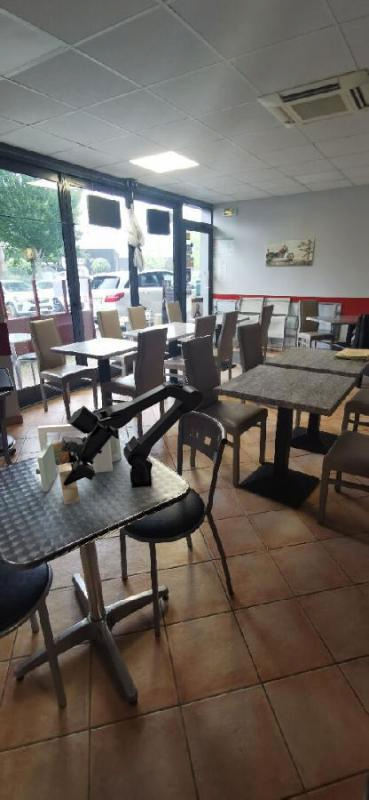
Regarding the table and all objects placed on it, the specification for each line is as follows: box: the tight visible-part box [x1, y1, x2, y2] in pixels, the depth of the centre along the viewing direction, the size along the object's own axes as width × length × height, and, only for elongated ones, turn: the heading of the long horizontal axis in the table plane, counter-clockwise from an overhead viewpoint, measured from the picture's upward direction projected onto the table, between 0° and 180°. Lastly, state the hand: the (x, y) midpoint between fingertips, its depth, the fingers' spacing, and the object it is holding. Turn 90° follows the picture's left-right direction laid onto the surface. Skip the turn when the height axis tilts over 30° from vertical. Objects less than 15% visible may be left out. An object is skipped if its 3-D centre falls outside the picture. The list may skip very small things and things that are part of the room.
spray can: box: [97, 405, 122, 463], centre depth 146 cm, size 7×7×20 cm
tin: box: [52, 436, 83, 467], centre depth 148 cm, size 15×3×8 cm, turn 132°
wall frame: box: [37, 423, 114, 474], centre depth 137 cm, size 23×2×18 cm, turn 93°
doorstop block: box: [57, 462, 80, 505], centre depth 123 cm, size 4×5×11 cm
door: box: [35, 441, 58, 492], centre depth 132 cm, size 12×3×12 cm, turn 3°
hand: (63, 480), depth 122 cm, fingers closed on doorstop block, 5 cm apart
